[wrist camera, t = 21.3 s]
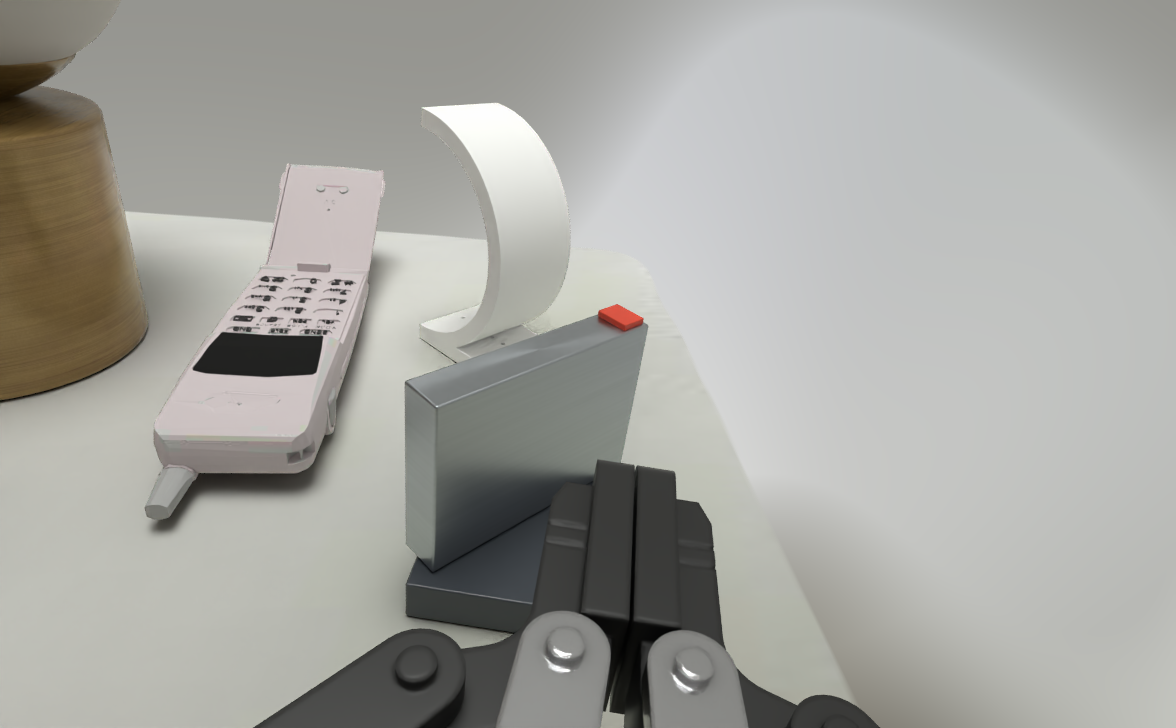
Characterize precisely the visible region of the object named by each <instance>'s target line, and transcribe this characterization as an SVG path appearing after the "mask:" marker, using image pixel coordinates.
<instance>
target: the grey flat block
mask: <svg viewBox="0 0 1176 728" xmlns="http://www.w3.org/2000/svg"><path fill="white" fill-rule="evenodd" d="M647 330H648V325H647V324H645V323H644V322H643V318H642V317H640V316H638V315H636V314H634V313H633V312H631V311H629V310H627V309H625V308H623V307H622V306H620V305H618V304H616V305H613V306H611V307H608V308H605V309H602V310H599V312H598V315H595V316H592V317H589V318H586V319H583V320H580V321H578V322H575V323H572V324H569V325H566V326H563V327H560V328H557V329H554V330H552V331H549V332H546V333H543V334H540V335H537V336H534V337H531V338H528V339H526V340H523V341H520V342H517V343H514V344H511V345H508V346H505V347H502V348H500V349H497V350H494V351H491V352H488V353H485V354H482V355H479V356H476V357H474V358H471V359H468V360H465V361H462V362H459V363H456V364H453V365H450V366H448V367H445V368H442V369H439V370H436V371H433V372H430V373H427V374H424V375H422V376H419V377H416V378H413V379H410V380H407V381H406V382H405V493H406V544H407V545H408V546H409V548H410V549H411V550H412V551H413V552H414V553H415V554H416V555H417V556H418V557H419V558H420V559H421V560H422V561H423V562H424V564H425V565H426V566H427V567H428V568H429V569H430V570H431V571H432V572H434V571H436V570H438V569H439V568H441V567H443V566H445V565H446V564H448V563H450V562H452V561H453V560H455V559H457V558H459V557H460V556H462V555H464V554H466V553H467V552H469V551H471V550H472V549H474V548H476V547H478V546H479V545H481V544H483V543H485V542H486V541H488V540H490V539H492V538H493V537H495V536H497V535H499V534H500V533H502V532H504V531H506V530H507V529H509V528H511V527H513V526H514V525H516V524H518V523H520V522H521V521H523V520H525V519H527V518H528V517H530V516H532V515H534V514H535V513H537V512H539V511H541V510H542V509H544V508H546V507H548V506H549V505H551V501H552V498H553V497H554V496H555V494H556V493H557V492H558V491H559V490H560V489H561V487H562V486H563V485H564V484H565V483H566V482H572V483H578V484H585V485H586V484H588V483H590V482H591V481H593V478H594V473H595V468H596V463H597V459H599V460H606V461H612V462H618V463H621V459H622V454H623V449H624V444H625V439H626V434H627V429H628V424H629V419H630V414H631V409H632V404H633V399H634V394H635V390H636V385H637V380H638V375H639V370H640V365H641V360H642V355H643V350H644V345H645V340H646V335H647Z"/></svg>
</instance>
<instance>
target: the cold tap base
mask: <svg viewBox="0 0 1176 728" xmlns="http://www.w3.org/2000/svg"><path fill="white" fill-rule="evenodd" d="M592 484H593V481H591V482H590V483H588V484H586V485H591V486H592ZM550 507H551V505H549V506H548V507H546V508H544V509H542V510H541V511H539V512H537V513H535V514H534V515H532V516H530V517H528V518H527V519H525V520H523V521H521V522H520V523H518V524H516V525H514V526H513V527H511V528H509V529H507V530H506V531H504V532H502V533H500V534H499V535H497V536H495V537H493V538H492V539H490V540H488V541H486V542H485V543H483V544H481V545H479V546H478V547H476V548H474V549H472V550H471V551H469V552H467V553H466V554H464V555H462V556H460V557H459V558H457V559H455V560H453V561H452V562H450V563H448V564H446V565H445V566H443V567H441V568H439V569H438V570H436V571H434V572H432V571H431V570H430V569H429V568H428V567H427V566H426V565H425V564H424V562H423V561H422V560H421V559H420V558H419V557H418V556H417V558H416V560H415V563H414V565H413V568H412V570H411V573H410V575H409V578H408V580H407V583H406V615H408V616H414V617H420V618H426V619H432V620H439V621H445V622H451V623H458V624H464V625H470V626H476V627H483V628H489V629H495V630H501V631H508V632H514V633H516V632H517V631H518V630H519V629H520V628H521V627H522V626H523V625H524V623H525V622H526V620H527V618H528V616H529V614H530V611H531V608H532V603H533V598H534V592H535V587H536V582H537V576H538V571H539V566H540V560H541V555H542V550H543V544H544V539H545V533H546V528H547V523H548V517H549V512H550Z"/></svg>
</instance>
